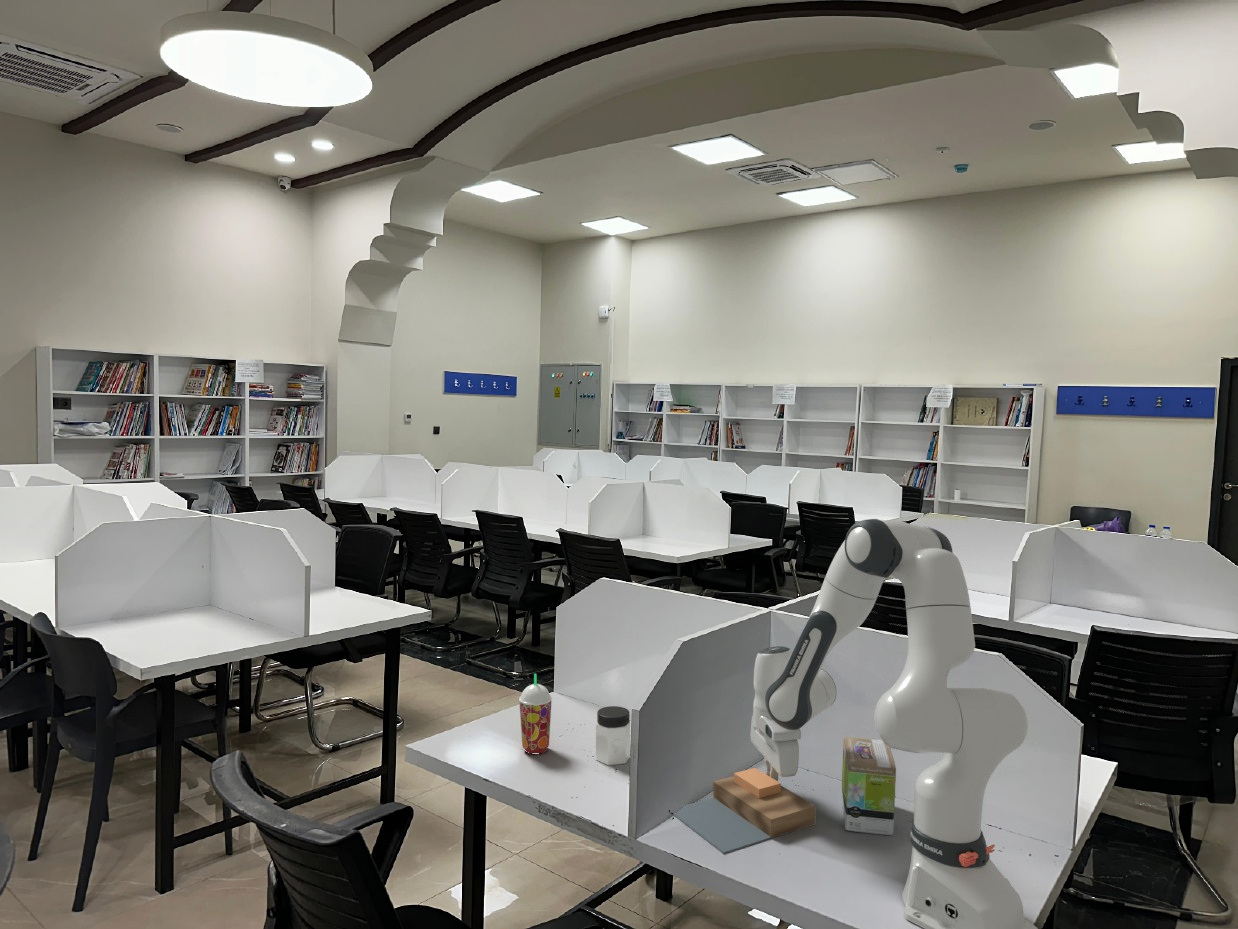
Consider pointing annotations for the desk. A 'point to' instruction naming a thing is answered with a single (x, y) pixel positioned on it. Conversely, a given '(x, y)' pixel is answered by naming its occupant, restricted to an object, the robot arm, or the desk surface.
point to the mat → (720, 825)
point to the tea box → (868, 786)
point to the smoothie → (535, 717)
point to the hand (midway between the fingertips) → (772, 778)
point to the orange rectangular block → (757, 782)
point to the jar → (613, 735)
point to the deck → (766, 808)
